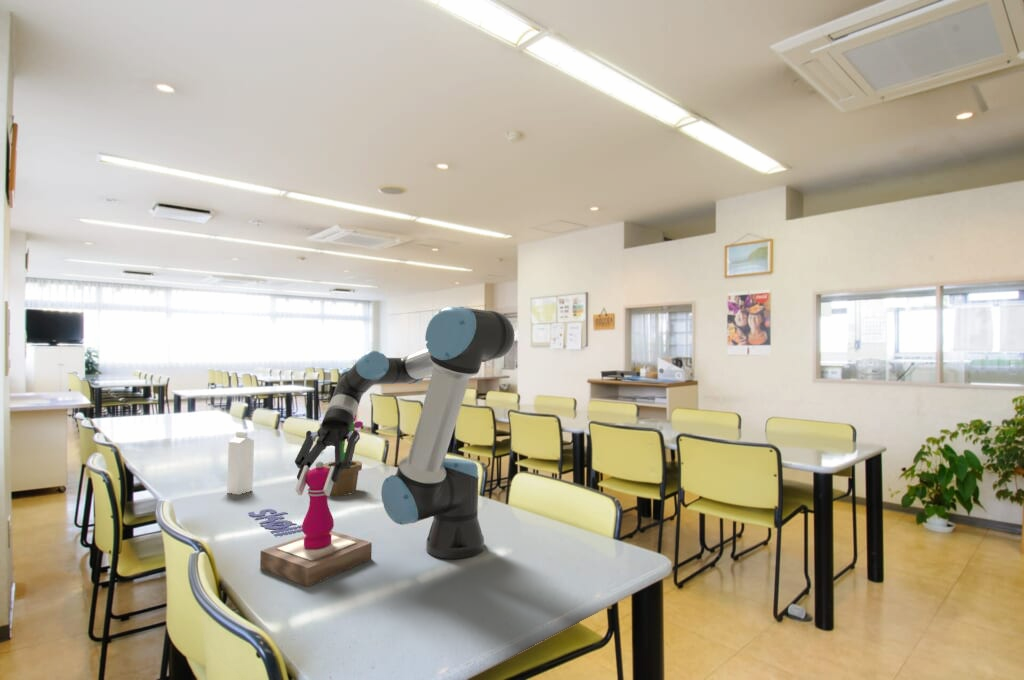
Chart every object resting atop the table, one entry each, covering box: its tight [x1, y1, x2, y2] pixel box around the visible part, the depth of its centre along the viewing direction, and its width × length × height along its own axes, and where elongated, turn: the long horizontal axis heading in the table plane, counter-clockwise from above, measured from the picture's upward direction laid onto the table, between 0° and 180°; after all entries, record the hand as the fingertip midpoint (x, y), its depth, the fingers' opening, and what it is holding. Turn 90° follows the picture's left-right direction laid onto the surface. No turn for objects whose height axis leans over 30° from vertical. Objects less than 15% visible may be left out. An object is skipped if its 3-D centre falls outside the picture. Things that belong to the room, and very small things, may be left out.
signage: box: [247, 508, 303, 537], centre depth 151 cm, size 28×1×10 cm
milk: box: [226, 431, 255, 496], centre depth 184 cm, size 6×6×22 cm
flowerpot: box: [323, 414, 364, 496], centre depth 185 cm, size 14×14×30 cm
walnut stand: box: [259, 530, 373, 587], centre depth 120 cm, size 18×18×4 cm
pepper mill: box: [301, 460, 335, 549], centre depth 121 cm, size 7×7×20 cm
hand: (312, 492), depth 117 cm, fingers closed on pepper mill, 6 cm apart
